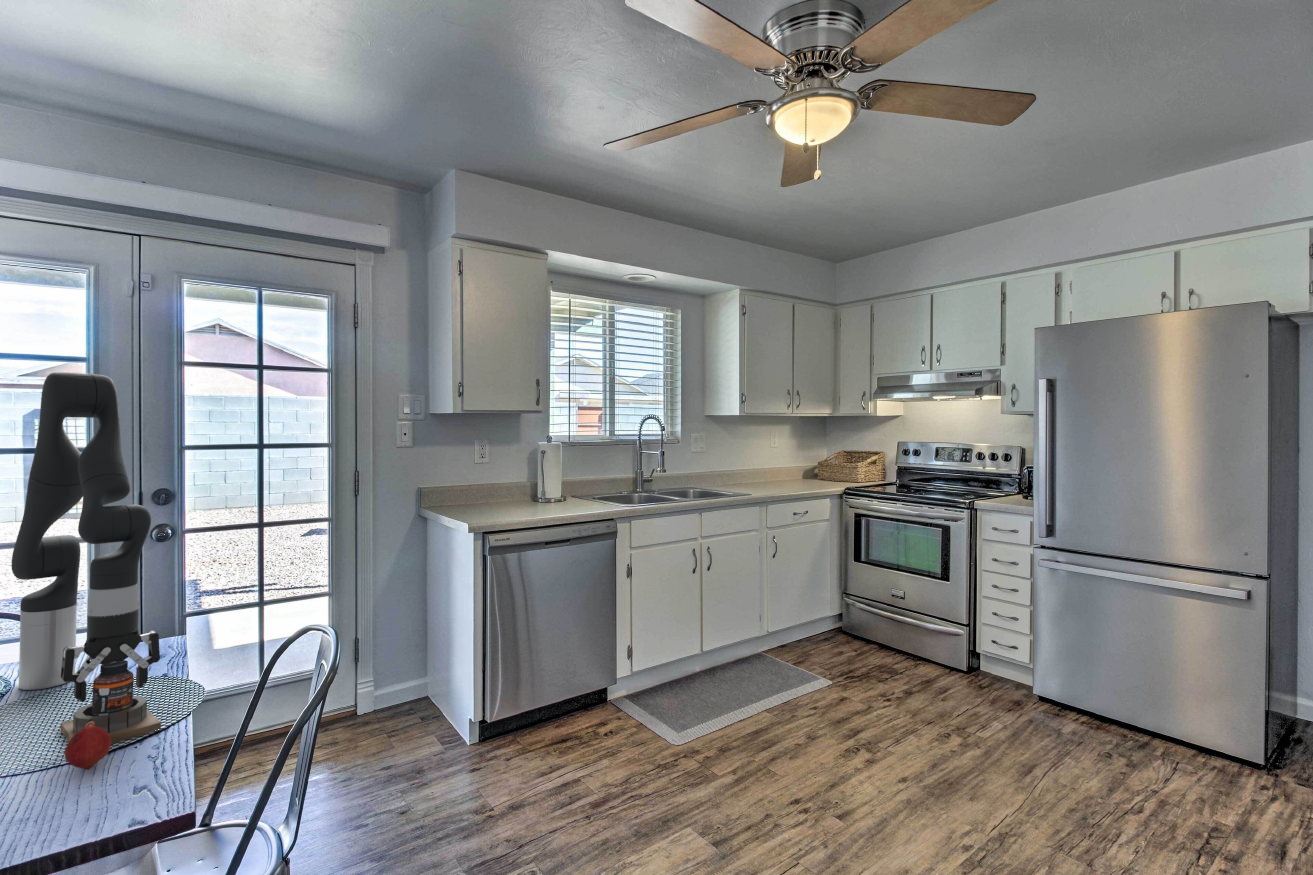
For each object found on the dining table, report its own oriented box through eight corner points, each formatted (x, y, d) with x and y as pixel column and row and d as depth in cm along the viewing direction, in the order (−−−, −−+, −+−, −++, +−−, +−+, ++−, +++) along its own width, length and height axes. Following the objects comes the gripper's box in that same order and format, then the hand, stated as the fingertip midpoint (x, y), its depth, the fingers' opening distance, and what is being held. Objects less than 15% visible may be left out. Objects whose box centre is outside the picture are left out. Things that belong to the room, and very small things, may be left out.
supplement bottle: (107, 730, 117) (109, 670, 117) (82, 726, 118) (84, 666, 118) (140, 716, 123) (141, 659, 123) (116, 713, 124) (117, 656, 124)
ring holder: (60, 730, 120) (60, 706, 120) (139, 709, 129) (140, 688, 129) (77, 753, 111) (77, 728, 111) (160, 729, 121) (161, 706, 121)
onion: (71, 781, 102) (72, 733, 102) (59, 771, 105) (60, 724, 105) (116, 766, 107) (117, 719, 107) (103, 756, 110) (104, 711, 110)
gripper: (153, 598, 128) (151, 677, 128) (58, 613, 117) (56, 699, 117) (165, 605, 124) (163, 687, 124) (67, 620, 112) (65, 711, 112)
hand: (111, 693), depth 120 cm, fingers open, 8 cm apart
